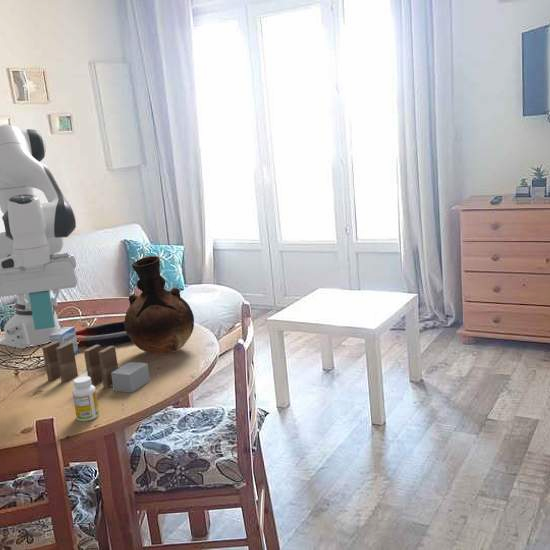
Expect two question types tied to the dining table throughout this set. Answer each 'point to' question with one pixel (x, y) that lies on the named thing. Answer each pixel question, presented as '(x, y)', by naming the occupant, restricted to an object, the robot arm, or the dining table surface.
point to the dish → (102, 335)
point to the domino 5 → (108, 364)
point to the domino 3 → (66, 362)
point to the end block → (130, 377)
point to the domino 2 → (51, 360)
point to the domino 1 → (42, 310)
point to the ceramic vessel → (157, 312)
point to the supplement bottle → (85, 399)
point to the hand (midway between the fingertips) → (41, 307)
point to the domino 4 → (93, 364)
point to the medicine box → (65, 337)
